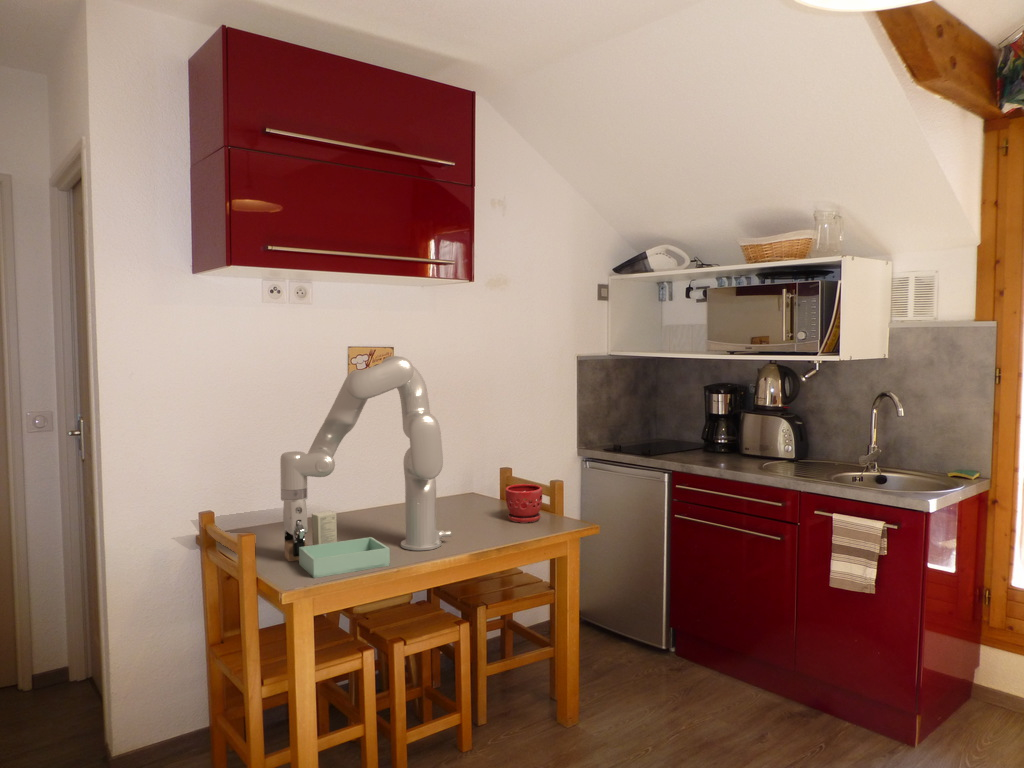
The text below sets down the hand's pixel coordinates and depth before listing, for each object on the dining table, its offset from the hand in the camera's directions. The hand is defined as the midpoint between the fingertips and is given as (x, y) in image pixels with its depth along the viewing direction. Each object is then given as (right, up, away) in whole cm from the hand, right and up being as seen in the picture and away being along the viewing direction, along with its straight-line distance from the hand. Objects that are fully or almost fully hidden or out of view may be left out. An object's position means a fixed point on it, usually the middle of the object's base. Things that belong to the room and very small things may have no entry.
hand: (294, 551), depth 218 cm
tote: (+16, -2, -7) cm, 18 cm away
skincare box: (+8, -2, +6) cm, 10 cm away
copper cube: (0, -2, 0) cm, 2 cm away
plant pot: (+68, 0, +46) cm, 82 cm away
